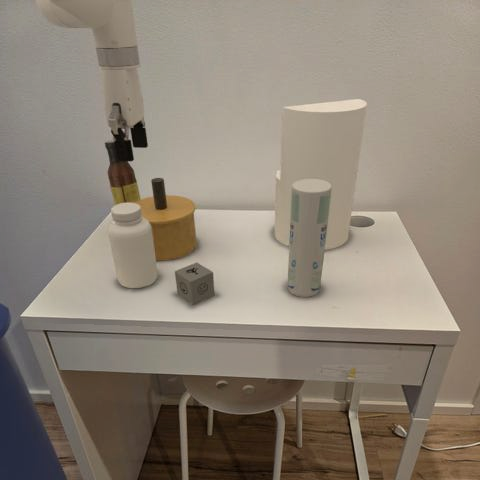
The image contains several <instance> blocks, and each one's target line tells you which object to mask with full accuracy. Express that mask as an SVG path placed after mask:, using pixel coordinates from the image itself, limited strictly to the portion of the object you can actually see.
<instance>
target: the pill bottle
mask: <svg viewBox="0 0 480 480" xmlns="http://www.w3.org/2000/svg"><path fill="white" fill-rule="evenodd" d="M110 214H111V218H112V221H111V222H110V223H109V225H108V227H107V234H108V238H109V244H110V250H111V253H112V259H113V262H114V263H113V264H114V269H115V274H116V278H117V282H118V283H119V284H120V286H122V287H124V288H128V289H141V288H145V287H148V286H150V285H152V284H154V283H155V282H156V281H157V279H158V275H159V274H158V266H157V260H156V258H155V250H154V243H153V236H152V229H151V225H150V223H149V221H148V220H147V219H145V218H143V217H142V212H141V207H140V206H139V205H138V204H136V203H121V204H117V205H115V204H114V206H112V207H111V209H110Z"/></svg>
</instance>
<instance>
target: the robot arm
mask: <svg viewBox="0 0 480 480" xmlns="http://www.w3.org/2000/svg"><path fill="white" fill-rule="evenodd" d="M35 3H36V6H37V9H38V10H39V13H40V14H41V15H42V16H43V17H44V19H46V20H47V21H48V22H49V23H50V24H52V25H55V26H57V27H60V28H63V29H64V28H65V29H91V31H92V35H93V41H94V46H95V51H96V57H97V64H98V69H99V70H100V79H101V91H102V100H103V107H104V112H105V113H104V114H105V120H106V125H107V126H108V127H109V128H110V133H111V134H112V140H114V142H115V148H116V154H117V159H118V161H128V162H134V160H135V157H134V150H133V148H134V149H135V148H138V149H147V148H148V147H149V144H148V137H147V129H146V121H145V119H144V118H145V105H144V99H143V90H142V87H141V81H140V80H141V79H140V76H139V71H138V68H140V67H141V62H140V54H139V48H138V39H137V32H136V31H137V30H136V24H135V17H134V9H133V2H132V0H35ZM130 137H131V139H130Z"/></svg>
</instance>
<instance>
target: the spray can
mask: <svg viewBox="0 0 480 480" xmlns="http://www.w3.org/2000/svg"><path fill="white" fill-rule="evenodd" d="M331 189H332V187H331V184H330V183H328V182H327V181H324V180H319V179H302V180H298V181H296V182H294V183H293V184H292V196H291V218H290V241H289V246H288V262H287V263H288V264H287V265H288V266H287V290H288V292H289V293H290V294H292V295H294V296H297V297H302V298H309V297H313V296H316V295H317V294H318V293H319V292H320V289H321V285H322V278H323V277H322V275H323V267H324V266H323V265H324V258H325V251H326V250H325V242H326V233H327V224H328V216H329V207H330V198H331Z"/></svg>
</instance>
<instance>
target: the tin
mask: <svg viewBox="0 0 480 480" xmlns="http://www.w3.org/2000/svg"><path fill="white" fill-rule="evenodd" d="M150 225H151V229H152V236H153V243H154V250H155V258H156V261H170V260H171V261H172V260H176V259H179V258H182V257H185V256H187V255H189V254H190V253H192V252H193V251H194V250H195V249H196V247H197V235H196V234H197V233H196V223H195V212H194V213H193V214H192V215H191V216H189V217H187V218H185V219H183V220H180V221H177V222H173V223H167V224H150Z"/></svg>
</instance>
